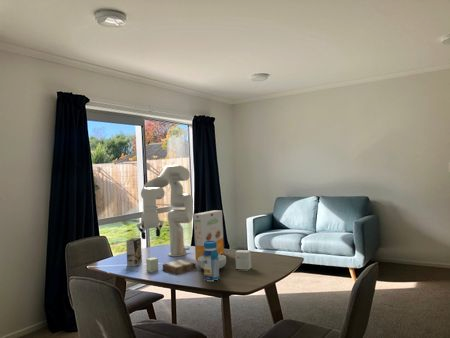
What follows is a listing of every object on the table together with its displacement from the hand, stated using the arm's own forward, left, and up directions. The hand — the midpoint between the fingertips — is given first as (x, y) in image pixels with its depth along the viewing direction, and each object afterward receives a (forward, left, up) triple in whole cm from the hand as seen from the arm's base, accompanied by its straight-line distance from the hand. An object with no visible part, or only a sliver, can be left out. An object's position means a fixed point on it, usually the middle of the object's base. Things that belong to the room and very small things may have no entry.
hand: (150, 237), depth 218 cm
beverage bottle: (-11, +42, -20) cm, 48 cm away
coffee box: (0, -22, -20) cm, 30 cm away
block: (0, 0, -20) cm, 20 cm away
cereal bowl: (-24, +27, -20) cm, 41 cm away
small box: (-36, +41, -20) cm, 58 cm away
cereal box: (-43, +2, -20) cm, 48 cm away
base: (-11, +12, -20) cm, 25 cm away
